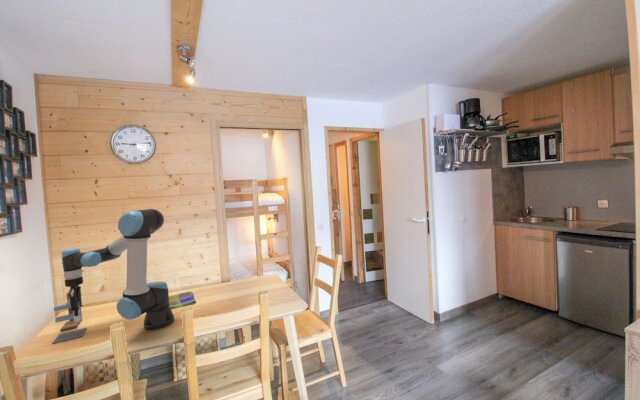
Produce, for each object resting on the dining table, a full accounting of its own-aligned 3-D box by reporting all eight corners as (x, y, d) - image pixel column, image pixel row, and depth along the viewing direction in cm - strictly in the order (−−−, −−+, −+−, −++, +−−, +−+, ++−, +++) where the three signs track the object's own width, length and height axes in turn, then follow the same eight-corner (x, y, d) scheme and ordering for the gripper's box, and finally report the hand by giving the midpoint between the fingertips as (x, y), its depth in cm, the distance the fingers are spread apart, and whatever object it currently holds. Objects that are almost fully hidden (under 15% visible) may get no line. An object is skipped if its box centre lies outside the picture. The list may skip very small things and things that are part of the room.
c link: (80, 315, 161) (79, 301, 161) (79, 317, 159) (77, 302, 158) (57, 321, 156) (55, 306, 156) (55, 322, 154) (53, 307, 154)
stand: (74, 331, 163) (70, 298, 162) (58, 335, 160) (54, 301, 159) (81, 320, 178) (78, 290, 178) (67, 323, 175) (63, 293, 174)
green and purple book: (166, 311, 183) (165, 307, 183) (165, 300, 204) (165, 296, 204) (196, 304, 191) (196, 300, 191) (193, 294, 212) (192, 290, 212)
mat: (82, 337, 155) (81, 335, 155) (52, 344, 150) (52, 343, 150) (87, 328, 166) (87, 327, 166) (59, 334, 160) (59, 333, 160)
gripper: (78, 279, 153) (83, 323, 154) (85, 273, 167) (89, 313, 168) (60, 282, 150) (65, 328, 151) (68, 275, 164) (73, 317, 165)
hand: (78, 320), depth 160 cm, fingers closed on c link, 2 cm apart
